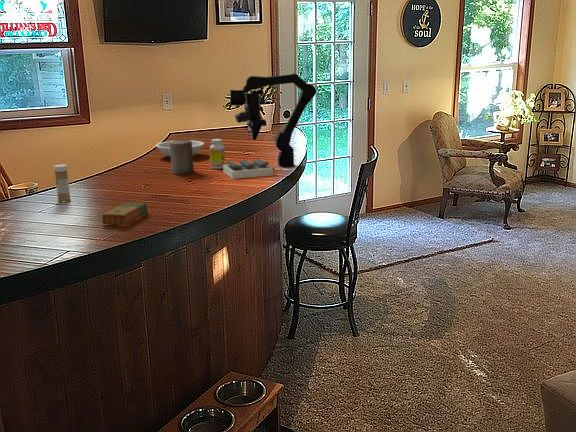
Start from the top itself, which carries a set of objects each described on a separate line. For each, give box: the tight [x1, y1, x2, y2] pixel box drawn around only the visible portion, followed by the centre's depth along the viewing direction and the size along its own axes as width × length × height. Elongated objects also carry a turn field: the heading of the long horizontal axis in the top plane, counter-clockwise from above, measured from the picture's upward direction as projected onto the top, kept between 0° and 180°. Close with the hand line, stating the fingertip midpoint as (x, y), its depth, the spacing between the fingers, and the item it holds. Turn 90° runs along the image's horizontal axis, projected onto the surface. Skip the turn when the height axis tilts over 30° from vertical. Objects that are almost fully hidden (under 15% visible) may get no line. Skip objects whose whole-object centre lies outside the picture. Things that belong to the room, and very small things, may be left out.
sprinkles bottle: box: [53, 164, 71, 203], centre depth 233 cm, size 5×5×13 cm
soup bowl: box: [155, 139, 205, 158], centre depth 317 cm, size 24×24×7 cm
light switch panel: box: [222, 163, 275, 180], centre depth 277 cm, size 21×16×3 cm
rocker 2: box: [239, 159, 255, 168], centre depth 275 cm, size 4×11×2 cm, turn 19°
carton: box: [102, 202, 149, 225], centre depth 209 cm, size 8×16×4 cm, turn 167°
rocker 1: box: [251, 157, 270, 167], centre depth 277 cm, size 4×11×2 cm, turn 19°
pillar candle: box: [170, 139, 195, 176], centre depth 279 cm, size 10×10×15 cm
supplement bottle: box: [209, 138, 226, 170], centre depth 288 cm, size 7×7×13 cm
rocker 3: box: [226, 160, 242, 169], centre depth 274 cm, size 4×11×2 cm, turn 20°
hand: (254, 139), depth 286 cm, fingers closed
